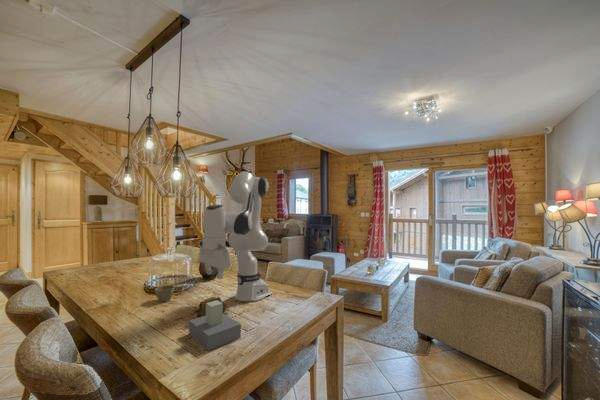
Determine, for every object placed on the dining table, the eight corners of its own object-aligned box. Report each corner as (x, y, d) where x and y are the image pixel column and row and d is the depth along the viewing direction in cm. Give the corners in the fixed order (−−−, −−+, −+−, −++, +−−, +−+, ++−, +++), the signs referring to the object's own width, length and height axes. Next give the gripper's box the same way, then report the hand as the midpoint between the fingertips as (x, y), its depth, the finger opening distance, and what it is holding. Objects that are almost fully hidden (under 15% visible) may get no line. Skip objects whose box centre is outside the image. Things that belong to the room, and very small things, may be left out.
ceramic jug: (203, 282, 185) (204, 239, 185) (195, 278, 196) (196, 237, 197) (226, 278, 196) (226, 237, 197) (217, 274, 208) (217, 236, 208)
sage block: (216, 318, 114) (217, 300, 114) (222, 322, 110) (222, 303, 111) (205, 322, 111) (205, 303, 111) (211, 326, 107) (211, 306, 107)
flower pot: (167, 296, 157) (168, 284, 157) (178, 299, 152) (178, 287, 152) (151, 301, 149) (151, 288, 149) (161, 305, 143) (161, 291, 144)
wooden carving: (222, 311, 135) (222, 292, 135) (227, 314, 132) (227, 294, 133) (191, 322, 123) (192, 301, 123) (197, 325, 120) (197, 303, 120)
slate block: (219, 324, 122) (219, 311, 122) (240, 338, 109) (240, 324, 109) (189, 334, 112) (189, 320, 112) (208, 351, 99) (208, 335, 99)
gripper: (234, 245, 106) (233, 279, 106) (210, 240, 120) (210, 270, 120) (219, 247, 101) (219, 283, 101) (197, 241, 116) (196, 272, 116)
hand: (214, 276), depth 111 cm, fingers open, 8 cm apart
